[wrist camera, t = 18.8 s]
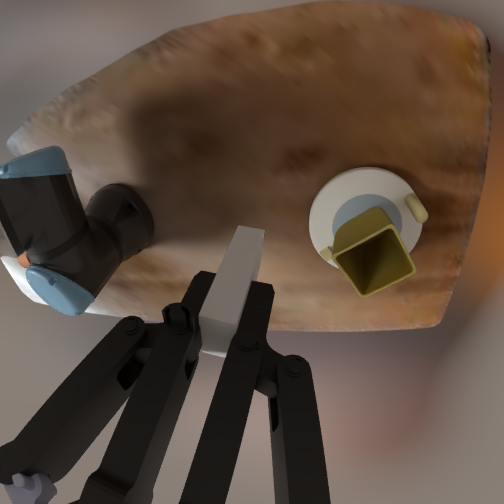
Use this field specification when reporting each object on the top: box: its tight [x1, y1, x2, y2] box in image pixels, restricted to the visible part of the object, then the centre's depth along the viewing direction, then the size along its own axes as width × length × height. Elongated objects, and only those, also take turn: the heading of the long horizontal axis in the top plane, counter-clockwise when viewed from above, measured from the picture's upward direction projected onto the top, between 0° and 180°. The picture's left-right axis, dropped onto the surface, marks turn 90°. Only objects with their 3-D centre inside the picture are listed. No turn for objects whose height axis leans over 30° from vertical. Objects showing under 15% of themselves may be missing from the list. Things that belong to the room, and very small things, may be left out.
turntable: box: [309, 167, 428, 269], centre depth 38 cm, size 18×18×7 cm
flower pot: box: [331, 207, 417, 298], centre depth 35 cm, size 9×9×9 cm
